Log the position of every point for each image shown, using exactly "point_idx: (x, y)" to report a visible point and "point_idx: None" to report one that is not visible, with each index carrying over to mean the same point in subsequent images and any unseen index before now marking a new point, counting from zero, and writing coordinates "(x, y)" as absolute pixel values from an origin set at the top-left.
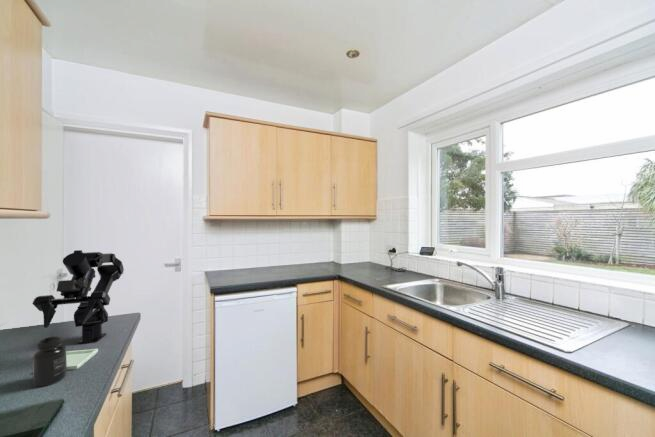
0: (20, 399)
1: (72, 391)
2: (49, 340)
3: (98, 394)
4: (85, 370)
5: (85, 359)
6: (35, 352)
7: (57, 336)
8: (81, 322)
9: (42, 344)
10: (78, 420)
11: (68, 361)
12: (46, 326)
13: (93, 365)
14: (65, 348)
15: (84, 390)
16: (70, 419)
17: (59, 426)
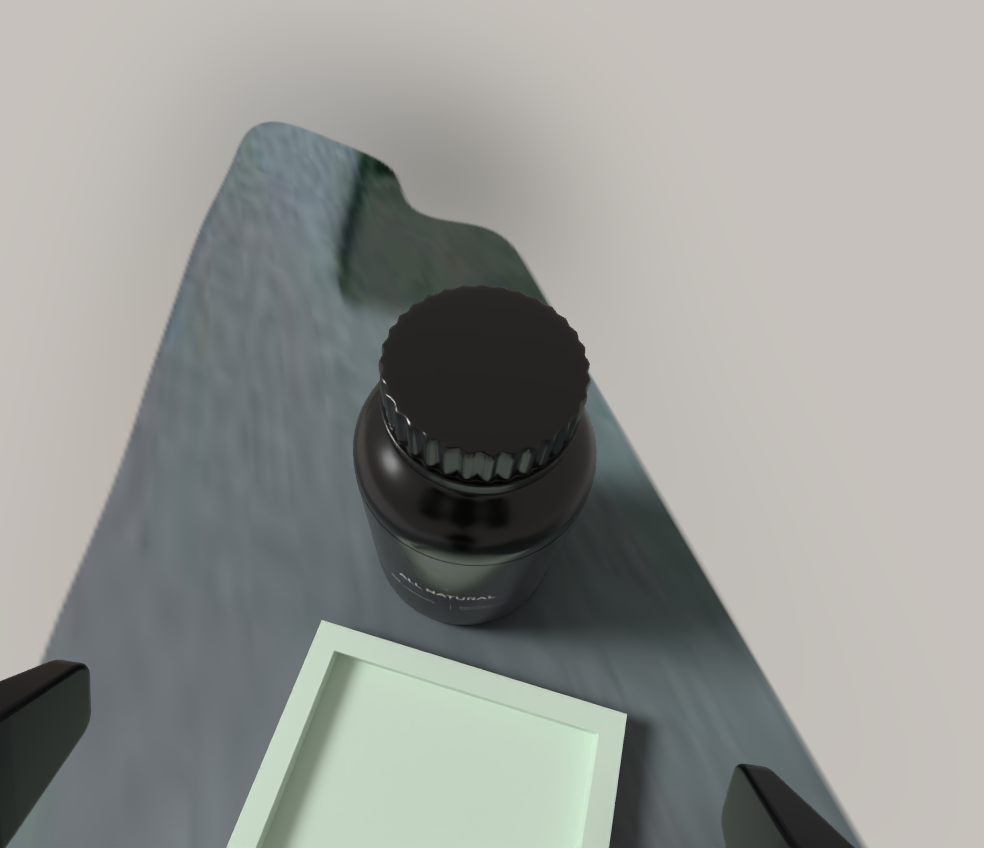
0: None
1: (316, 345)
2: (475, 334)
3: (201, 265)
4: (269, 575)
5: (269, 749)
6: (585, 422)
7: (424, 417)
8: (82, 665)
9: (515, 294)
10: (270, 154)
11: (419, 837)
12: (732, 796)
13: (216, 641)
14: (354, 446)
15: (261, 327)
16: (296, 169)
17: (325, 154)
